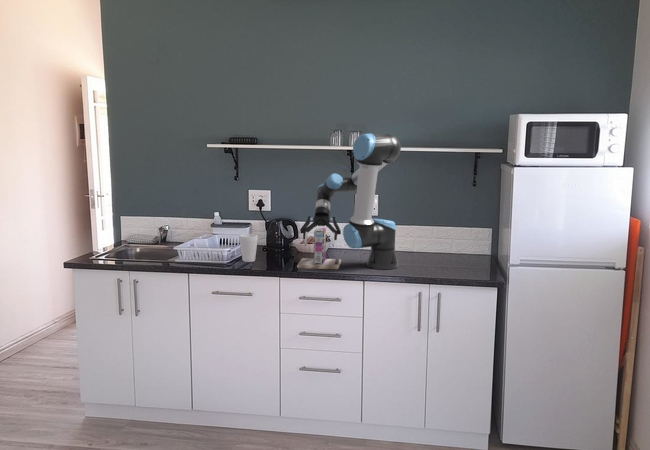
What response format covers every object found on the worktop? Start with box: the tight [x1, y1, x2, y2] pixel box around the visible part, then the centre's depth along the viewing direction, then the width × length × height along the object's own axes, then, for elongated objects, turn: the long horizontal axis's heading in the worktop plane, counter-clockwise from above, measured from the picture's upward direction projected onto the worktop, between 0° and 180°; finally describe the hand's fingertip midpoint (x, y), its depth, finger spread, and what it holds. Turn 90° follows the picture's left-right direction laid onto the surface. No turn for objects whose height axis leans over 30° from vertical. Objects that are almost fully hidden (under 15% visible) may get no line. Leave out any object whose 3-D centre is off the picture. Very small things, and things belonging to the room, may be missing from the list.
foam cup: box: [238, 233, 259, 263], centre depth 277 cm, size 10×9×13 cm
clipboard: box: [296, 257, 342, 270], centre depth 269 cm, size 20×17×2 cm
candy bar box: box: [313, 227, 327, 264], centre depth 268 cm, size 11×5×16 cm, turn 174°
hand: (319, 244), depth 266 cm, fingers open, 13 cm apart
